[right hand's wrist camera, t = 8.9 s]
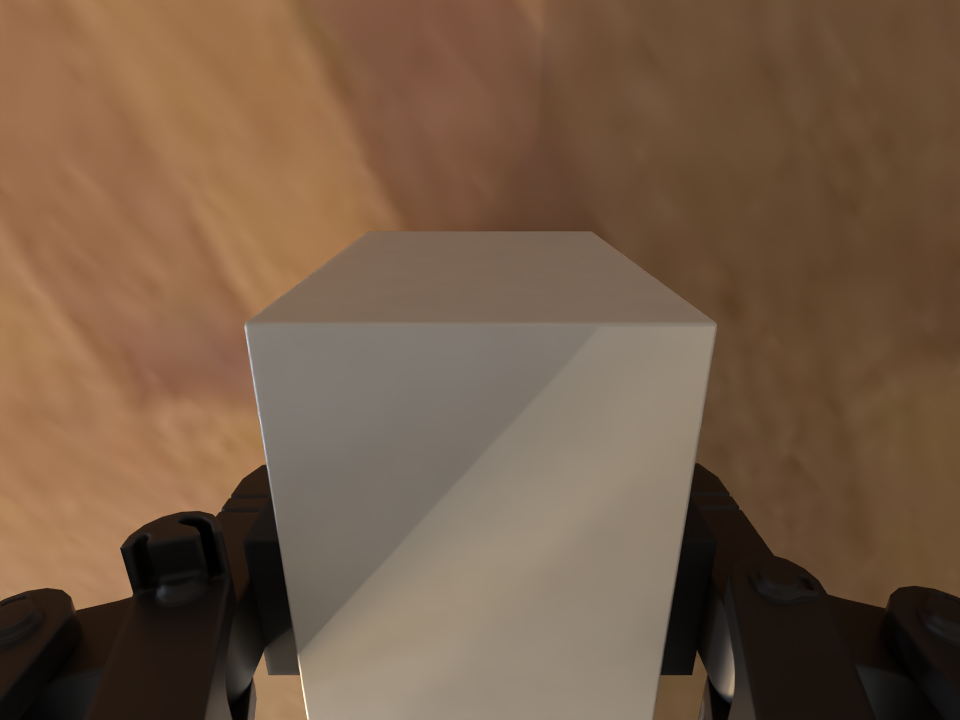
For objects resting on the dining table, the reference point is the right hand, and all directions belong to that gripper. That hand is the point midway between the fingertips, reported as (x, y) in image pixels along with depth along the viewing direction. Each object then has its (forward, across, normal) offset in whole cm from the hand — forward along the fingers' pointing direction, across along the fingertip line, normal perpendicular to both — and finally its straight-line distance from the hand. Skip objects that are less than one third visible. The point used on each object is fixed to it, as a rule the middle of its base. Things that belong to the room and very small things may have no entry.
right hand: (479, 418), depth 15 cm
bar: (0, 0, -32) cm, 32 cm away
